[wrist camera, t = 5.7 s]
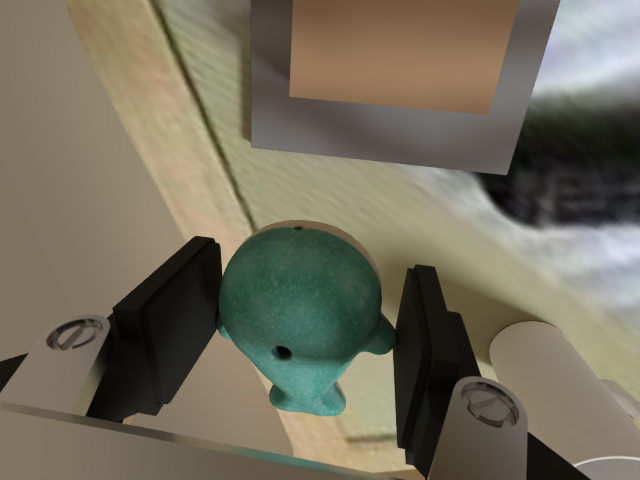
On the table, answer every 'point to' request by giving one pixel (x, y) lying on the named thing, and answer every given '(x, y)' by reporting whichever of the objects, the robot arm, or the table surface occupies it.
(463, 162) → the display plinth
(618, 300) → the table surface
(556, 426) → the mug
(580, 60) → the table surface
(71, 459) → the robot arm
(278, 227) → the whale figurine
